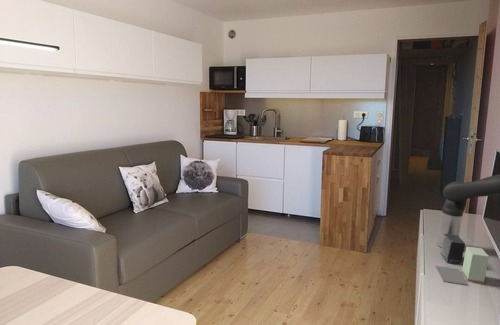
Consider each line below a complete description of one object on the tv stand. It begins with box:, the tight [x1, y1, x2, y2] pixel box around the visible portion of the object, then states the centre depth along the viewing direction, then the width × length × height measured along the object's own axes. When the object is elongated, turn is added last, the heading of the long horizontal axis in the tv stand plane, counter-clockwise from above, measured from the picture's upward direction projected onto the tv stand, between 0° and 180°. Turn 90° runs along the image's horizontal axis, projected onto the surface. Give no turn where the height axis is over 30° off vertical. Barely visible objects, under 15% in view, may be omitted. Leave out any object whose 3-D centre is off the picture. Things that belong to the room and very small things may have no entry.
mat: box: [435, 265, 469, 286], centre depth 161 cm, size 14×9×1 cm, turn 167°
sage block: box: [461, 245, 490, 285], centre depth 159 cm, size 8×6×12 cm
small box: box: [440, 233, 466, 266], centre depth 176 cm, size 11×6×10 cm, turn 168°
